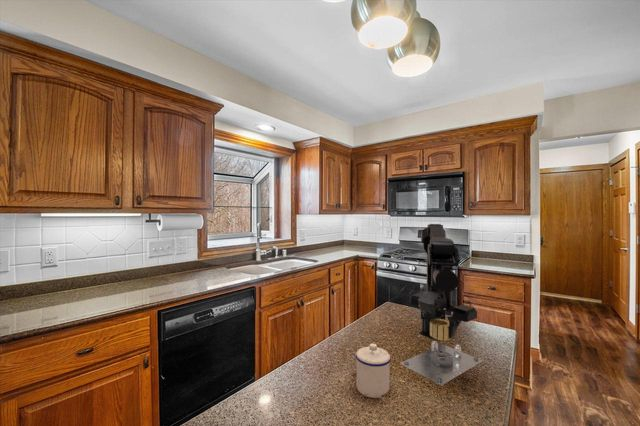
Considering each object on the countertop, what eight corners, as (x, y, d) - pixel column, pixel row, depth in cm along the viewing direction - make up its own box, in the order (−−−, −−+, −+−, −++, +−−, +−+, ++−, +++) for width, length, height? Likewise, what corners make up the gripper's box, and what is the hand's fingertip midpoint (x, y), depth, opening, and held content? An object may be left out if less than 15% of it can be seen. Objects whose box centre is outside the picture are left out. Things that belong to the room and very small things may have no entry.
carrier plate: (399, 365, 89) (399, 351, 89) (441, 346, 102) (441, 333, 102) (441, 388, 78) (441, 371, 78) (483, 363, 91) (483, 349, 91)
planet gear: (425, 334, 88) (426, 321, 88) (437, 329, 91) (437, 317, 91) (444, 342, 83) (444, 328, 83) (455, 336, 86) (455, 323, 86)
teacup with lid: (397, 392, 76) (398, 347, 76) (371, 403, 71) (371, 356, 71) (367, 370, 86) (367, 331, 86) (342, 379, 81) (342, 337, 81)
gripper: (398, 279, 90) (398, 330, 90) (456, 294, 75) (455, 355, 75) (421, 275, 96) (420, 322, 97) (478, 288, 81) (477, 343, 81)
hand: (440, 334), depth 87 cm, fingers closed on planet gear, 6 cm apart
